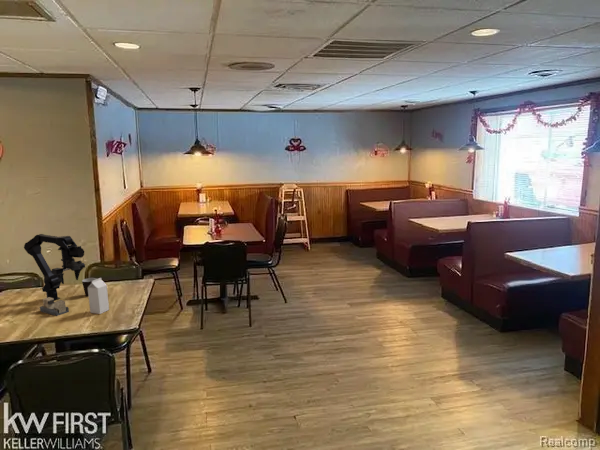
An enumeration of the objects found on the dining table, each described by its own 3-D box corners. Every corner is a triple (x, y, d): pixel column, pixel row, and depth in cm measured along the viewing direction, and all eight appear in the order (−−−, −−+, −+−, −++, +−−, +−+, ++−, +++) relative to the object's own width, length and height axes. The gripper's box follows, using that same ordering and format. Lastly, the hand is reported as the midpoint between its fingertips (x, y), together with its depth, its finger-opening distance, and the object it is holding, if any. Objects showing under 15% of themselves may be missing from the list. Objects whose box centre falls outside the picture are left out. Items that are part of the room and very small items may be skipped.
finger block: (43, 309, 265) (42, 299, 264) (50, 307, 269) (49, 297, 268) (49, 310, 263) (47, 300, 262) (55, 308, 266) (54, 298, 265)
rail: (40, 311, 265) (38, 299, 263) (52, 307, 271) (50, 296, 270) (56, 315, 257) (55, 303, 255) (68, 311, 263) (67, 300, 262)
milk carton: (109, 309, 264) (106, 278, 261) (100, 314, 257) (96, 281, 254) (99, 308, 266) (96, 277, 263) (90, 313, 260) (86, 280, 257)
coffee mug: (92, 297, 288) (91, 282, 286) (80, 296, 290) (78, 281, 288) (104, 291, 299) (102, 276, 298) (92, 291, 301) (90, 276, 299)
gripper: (60, 261, 266) (63, 287, 269) (89, 254, 282) (92, 279, 285) (49, 259, 272) (52, 285, 274) (78, 253, 288) (80, 277, 290)
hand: (70, 281), depth 281 cm, fingers open, 9 cm apart
